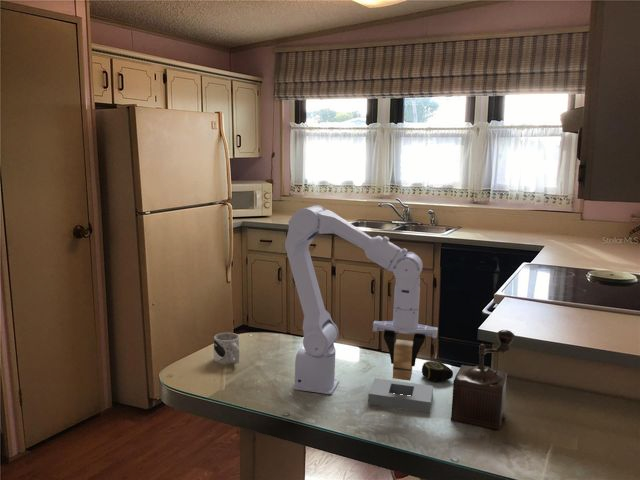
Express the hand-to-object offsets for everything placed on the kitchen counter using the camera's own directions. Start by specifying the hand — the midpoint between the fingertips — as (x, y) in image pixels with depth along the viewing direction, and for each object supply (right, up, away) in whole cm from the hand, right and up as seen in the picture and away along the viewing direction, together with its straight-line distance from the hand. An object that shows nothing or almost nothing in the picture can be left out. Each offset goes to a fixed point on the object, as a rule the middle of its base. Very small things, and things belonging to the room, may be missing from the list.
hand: (403, 363), depth 127 cm
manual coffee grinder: (+17, -10, -3) cm, 20 cm away
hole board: (0, -9, +1) cm, 9 cm away
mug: (-44, -5, +21) cm, 49 cm away
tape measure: (+11, -7, +15) cm, 20 cm away
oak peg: (0, -3, 0) cm, 3 cm away
